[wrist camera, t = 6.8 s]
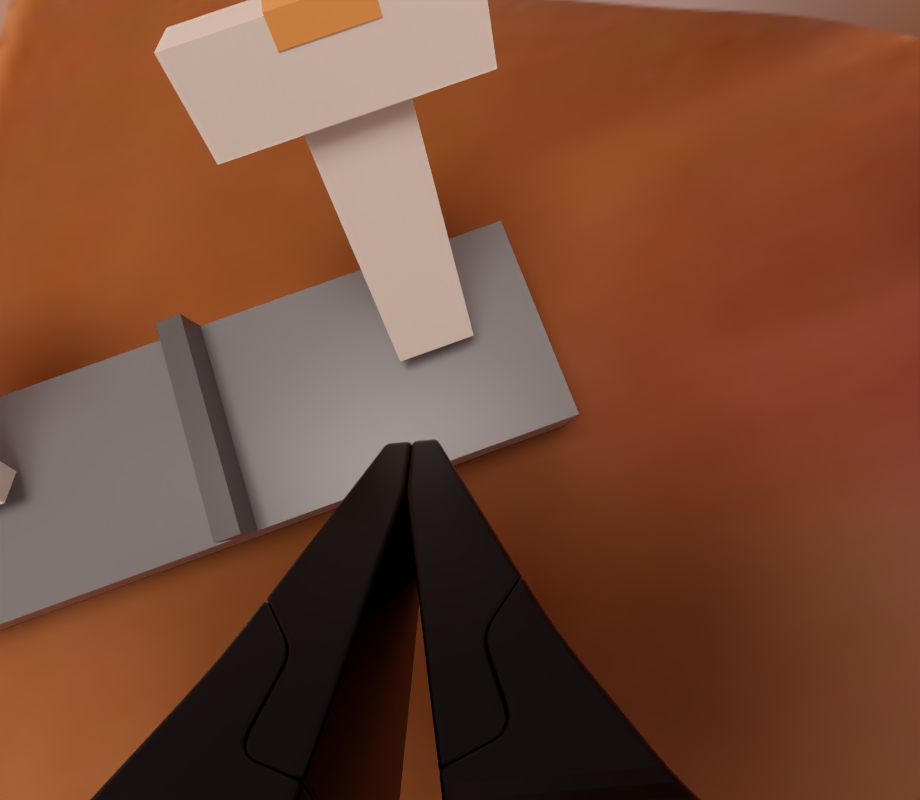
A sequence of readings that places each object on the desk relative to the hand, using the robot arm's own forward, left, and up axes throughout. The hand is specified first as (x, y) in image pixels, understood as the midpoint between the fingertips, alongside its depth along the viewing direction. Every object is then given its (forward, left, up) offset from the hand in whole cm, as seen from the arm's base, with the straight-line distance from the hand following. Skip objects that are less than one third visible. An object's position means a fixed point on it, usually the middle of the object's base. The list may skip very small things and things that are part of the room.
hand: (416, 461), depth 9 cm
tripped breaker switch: (+4, -1, -8) cm, 9 cm away
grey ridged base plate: (+4, +6, -11) cm, 13 cm away
